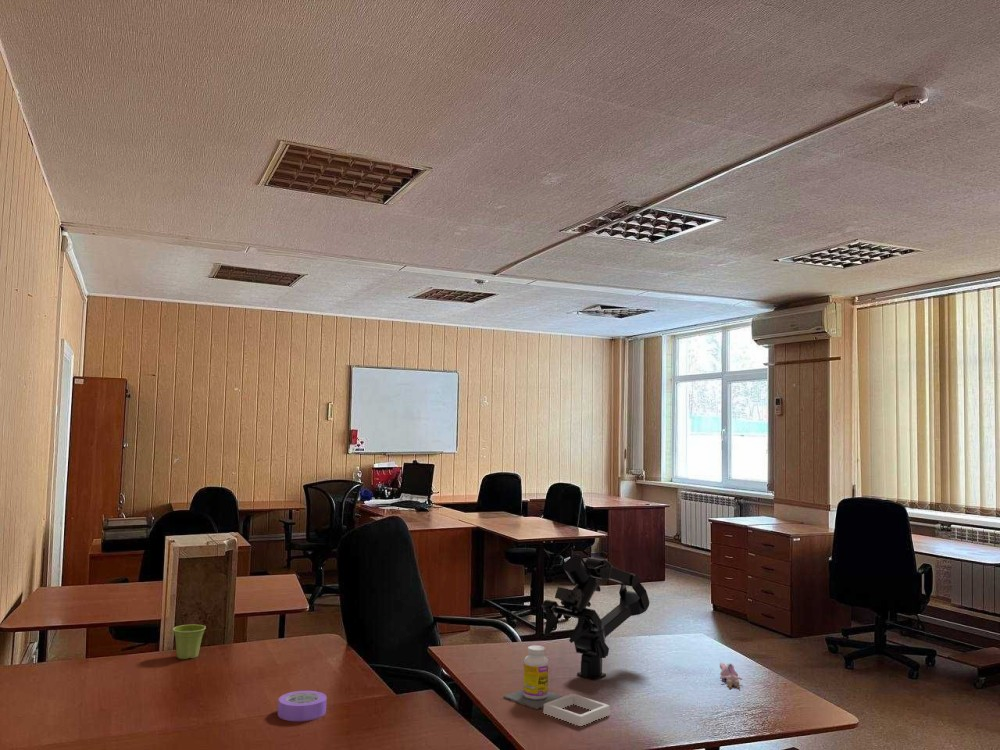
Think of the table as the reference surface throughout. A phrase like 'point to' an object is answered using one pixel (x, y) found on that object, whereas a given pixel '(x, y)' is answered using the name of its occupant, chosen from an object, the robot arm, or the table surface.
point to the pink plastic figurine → (730, 675)
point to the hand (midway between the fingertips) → (557, 638)
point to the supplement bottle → (535, 674)
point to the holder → (596, 713)
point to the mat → (532, 703)
